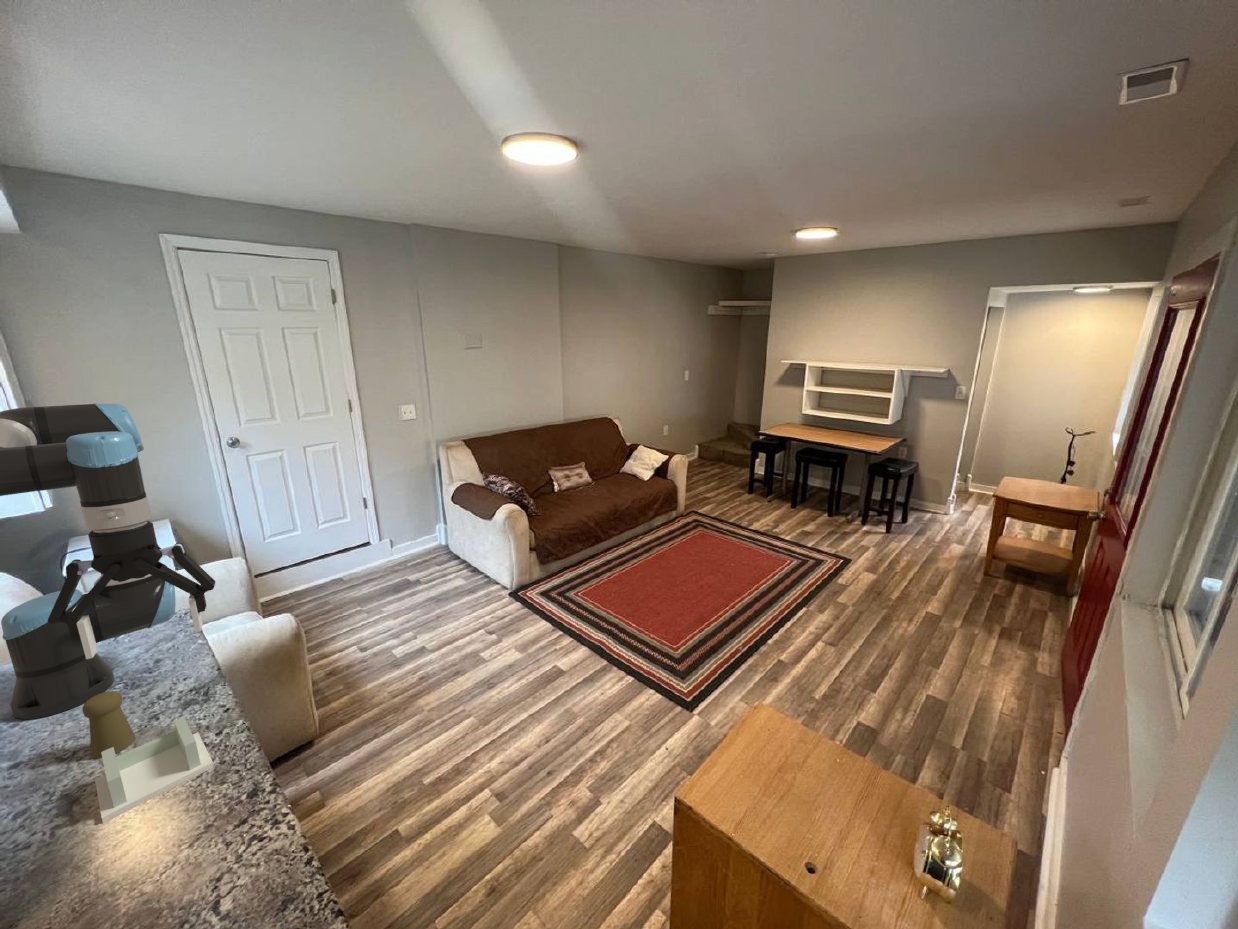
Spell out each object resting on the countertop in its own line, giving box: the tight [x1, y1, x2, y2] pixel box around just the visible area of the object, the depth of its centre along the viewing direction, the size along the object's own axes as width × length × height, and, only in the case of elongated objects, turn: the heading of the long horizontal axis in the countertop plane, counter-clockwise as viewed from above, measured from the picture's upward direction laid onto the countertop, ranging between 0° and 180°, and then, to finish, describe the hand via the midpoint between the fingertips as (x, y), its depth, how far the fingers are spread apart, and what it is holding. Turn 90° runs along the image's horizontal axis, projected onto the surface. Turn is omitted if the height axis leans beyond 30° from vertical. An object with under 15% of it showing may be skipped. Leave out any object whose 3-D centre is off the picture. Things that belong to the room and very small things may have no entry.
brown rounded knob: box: [82, 690, 136, 760], centre depth 91 cm, size 6×6×11 cm
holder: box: [94, 716, 215, 824], centre depth 85 cm, size 12×14×6 cm
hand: (148, 641), depth 83 cm, fingers open, 13 cm apart
